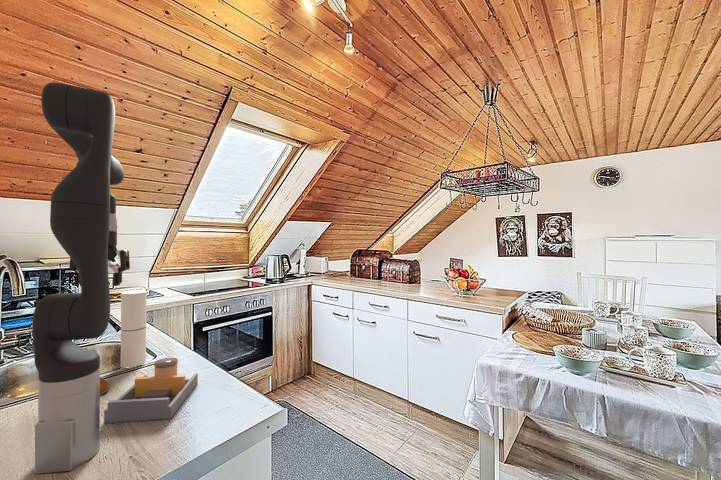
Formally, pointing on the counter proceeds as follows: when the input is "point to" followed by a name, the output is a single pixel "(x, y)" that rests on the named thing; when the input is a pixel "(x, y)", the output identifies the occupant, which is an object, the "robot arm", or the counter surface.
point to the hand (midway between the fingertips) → (100, 285)
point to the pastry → (103, 386)
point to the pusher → (158, 386)
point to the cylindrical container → (133, 328)
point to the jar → (166, 367)
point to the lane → (147, 405)
